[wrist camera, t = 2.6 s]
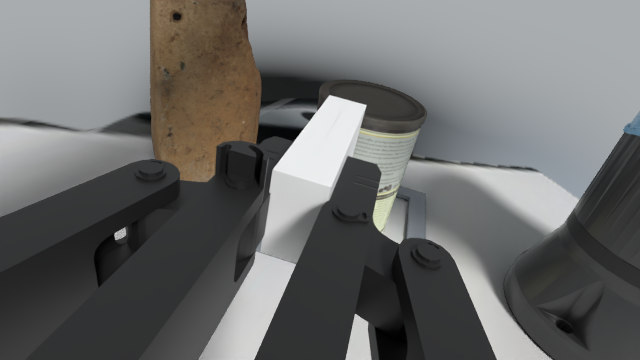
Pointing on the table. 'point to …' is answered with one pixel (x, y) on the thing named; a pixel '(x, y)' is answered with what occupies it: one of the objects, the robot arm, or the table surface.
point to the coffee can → (382, 134)
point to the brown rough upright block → (201, 82)
